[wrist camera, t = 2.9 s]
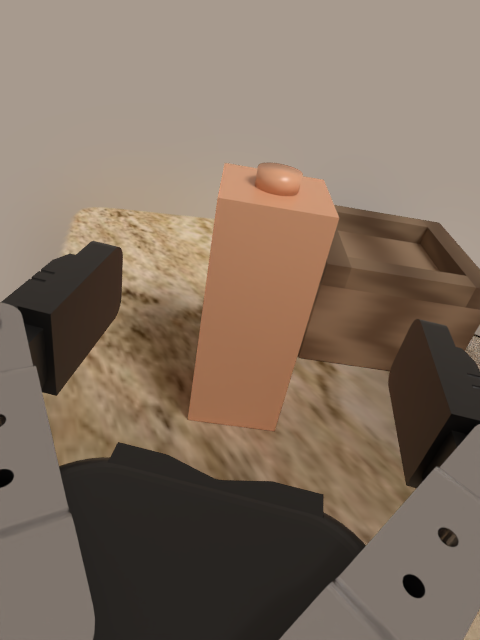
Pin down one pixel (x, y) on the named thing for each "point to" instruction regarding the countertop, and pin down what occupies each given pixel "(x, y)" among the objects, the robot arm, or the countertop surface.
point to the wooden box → (388, 289)
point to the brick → (259, 291)
